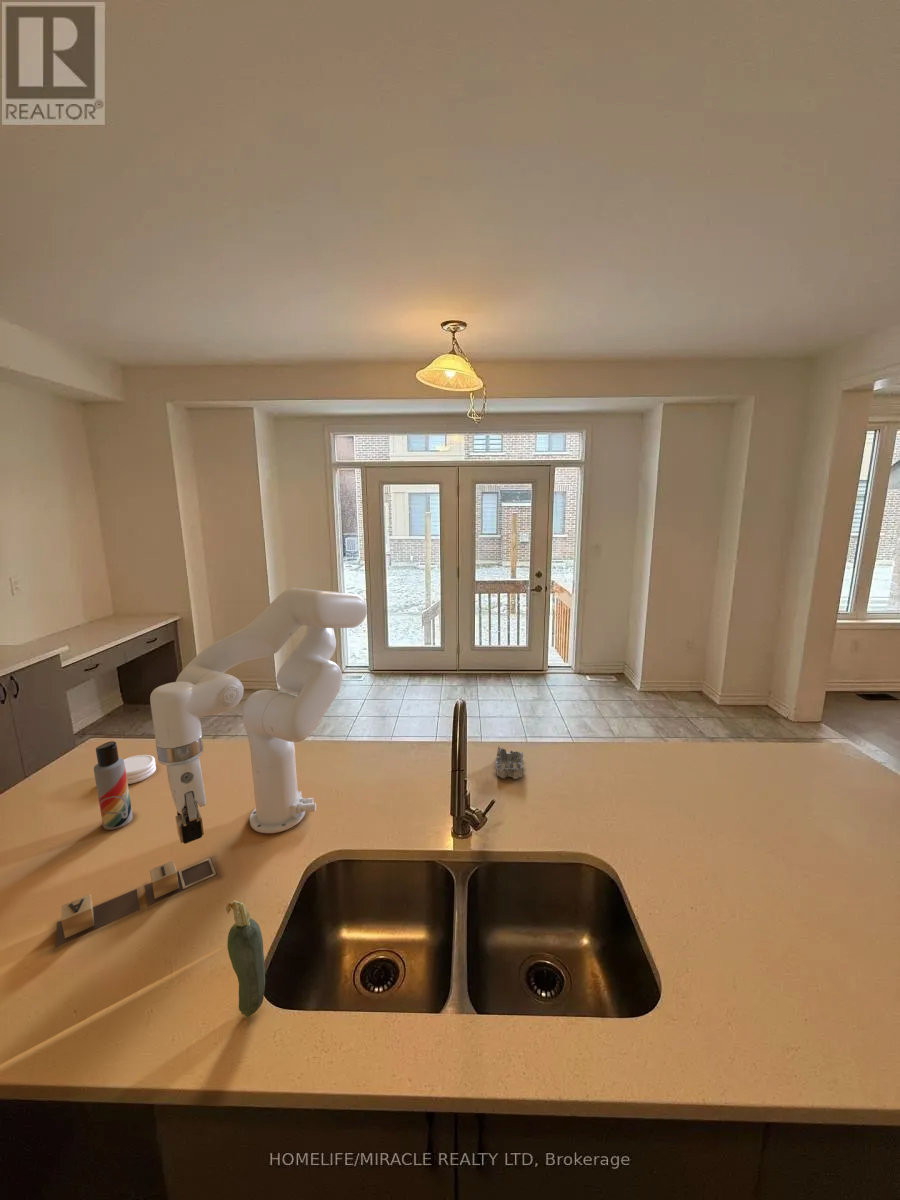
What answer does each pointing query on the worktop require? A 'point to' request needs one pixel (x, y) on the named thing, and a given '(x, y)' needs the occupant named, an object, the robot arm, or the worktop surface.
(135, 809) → the worktop surface
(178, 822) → the tile
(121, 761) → the lotion bottle
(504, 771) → the egg carton
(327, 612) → the robot arm
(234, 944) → the vegetable
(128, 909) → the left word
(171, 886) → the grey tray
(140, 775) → the coaster
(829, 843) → the worktop surface
